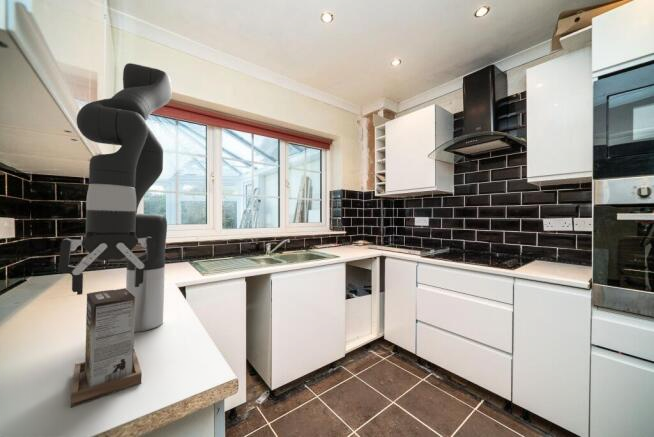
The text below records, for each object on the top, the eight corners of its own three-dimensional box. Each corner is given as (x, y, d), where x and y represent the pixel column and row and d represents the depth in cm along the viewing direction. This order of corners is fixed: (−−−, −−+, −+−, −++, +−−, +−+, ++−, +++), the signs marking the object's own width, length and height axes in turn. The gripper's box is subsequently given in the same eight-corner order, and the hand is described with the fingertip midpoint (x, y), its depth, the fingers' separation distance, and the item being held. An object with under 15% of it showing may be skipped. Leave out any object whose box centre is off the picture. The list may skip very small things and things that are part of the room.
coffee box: (83, 372, 50) (85, 292, 50) (123, 359, 55) (126, 287, 55) (88, 394, 44) (91, 303, 44) (133, 377, 49) (136, 295, 49)
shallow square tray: (74, 374, 51) (75, 364, 51) (134, 357, 57) (134, 348, 57) (70, 407, 42) (71, 395, 42) (141, 383, 48) (141, 372, 48)
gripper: (58, 206, 42) (55, 302, 42) (158, 210, 52) (156, 288, 52) (62, 207, 47) (59, 291, 47) (152, 210, 57) (150, 280, 57)
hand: (110, 289), depth 50 cm, fingers open, 8 cm apart
